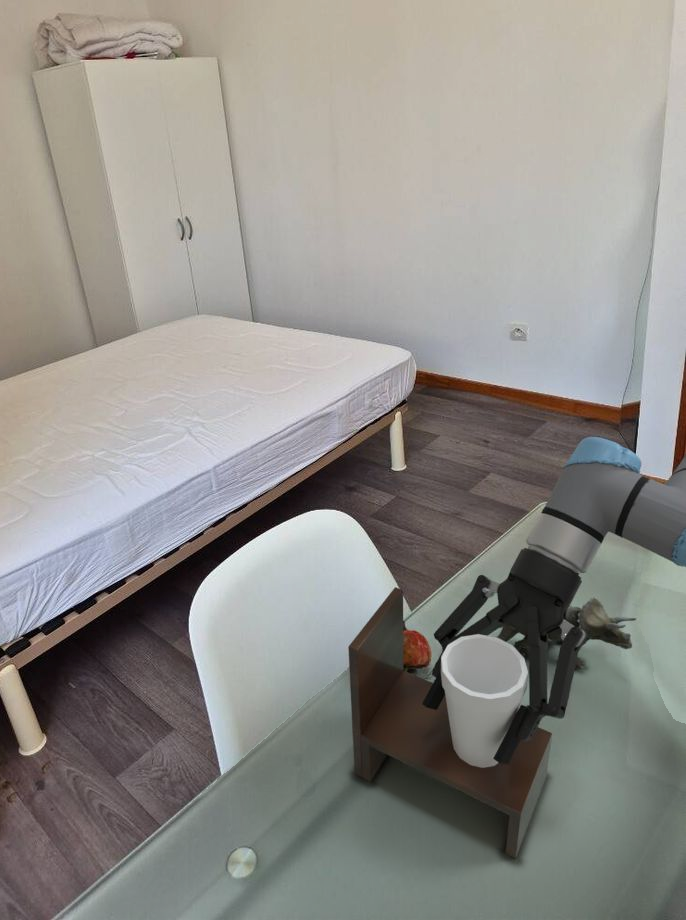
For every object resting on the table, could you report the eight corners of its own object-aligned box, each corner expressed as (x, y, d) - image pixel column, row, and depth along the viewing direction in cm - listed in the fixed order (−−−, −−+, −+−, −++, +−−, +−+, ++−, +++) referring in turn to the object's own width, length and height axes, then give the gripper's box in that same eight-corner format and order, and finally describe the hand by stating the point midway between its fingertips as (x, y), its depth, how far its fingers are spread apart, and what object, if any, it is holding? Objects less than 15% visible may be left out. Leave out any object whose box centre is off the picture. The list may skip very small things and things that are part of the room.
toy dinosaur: (471, 659, 105) (474, 602, 100) (476, 621, 112) (479, 567, 107) (626, 687, 99) (638, 627, 94) (621, 645, 106) (632, 587, 101)
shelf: (546, 776, 87) (563, 646, 77) (515, 859, 78) (531, 723, 69) (396, 708, 98) (395, 586, 88) (354, 773, 89) (348, 646, 79)
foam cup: (425, 726, 85) (426, 649, 80) (489, 702, 88) (494, 625, 82) (467, 792, 77) (471, 710, 72) (536, 762, 80) (545, 681, 74)
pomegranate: (434, 694, 102) (435, 626, 107) (427, 689, 96) (428, 617, 101) (385, 691, 105) (387, 624, 109) (375, 685, 98) (378, 615, 103)
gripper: (654, 613, 76) (560, 798, 74) (487, 531, 91) (406, 683, 89) (638, 598, 71) (537, 798, 69) (464, 514, 86) (377, 674, 84)
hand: (463, 732), depth 79 cm, fingers closed on foam cup, 9 cm apart
